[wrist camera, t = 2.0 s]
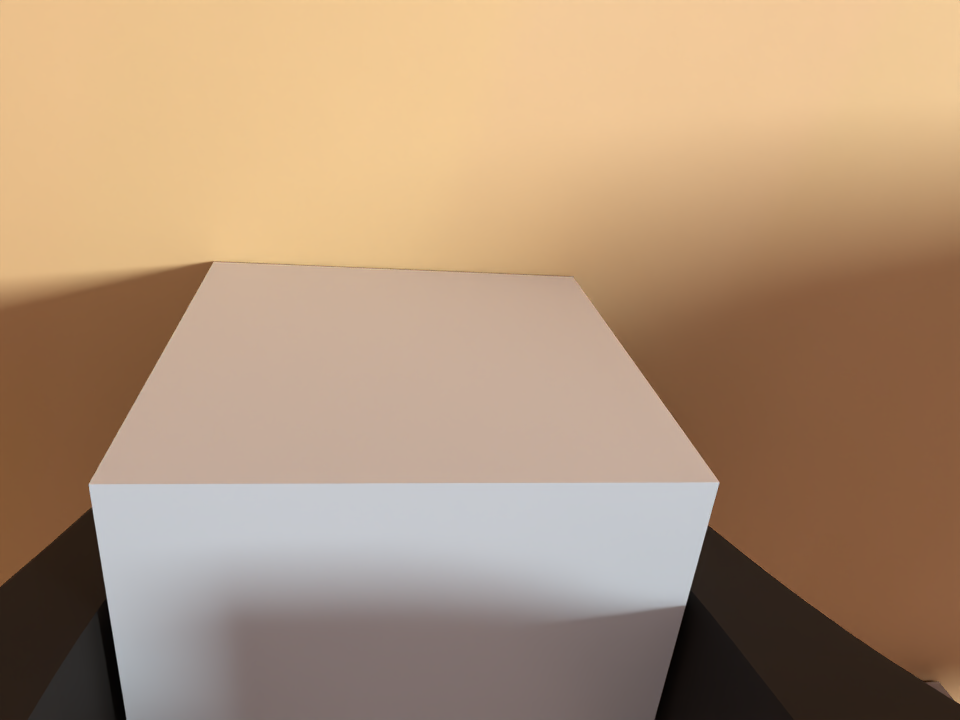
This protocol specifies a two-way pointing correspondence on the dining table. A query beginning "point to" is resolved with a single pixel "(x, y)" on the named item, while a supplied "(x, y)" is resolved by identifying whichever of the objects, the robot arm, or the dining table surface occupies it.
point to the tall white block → (396, 505)
